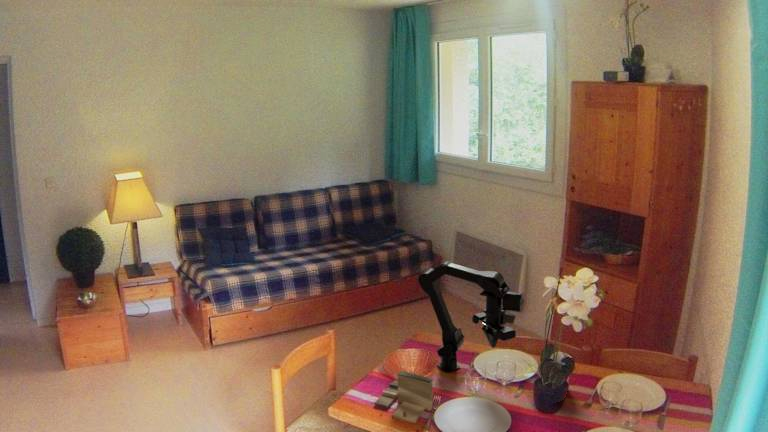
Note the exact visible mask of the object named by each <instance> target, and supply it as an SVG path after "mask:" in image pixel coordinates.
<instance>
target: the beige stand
mask: <svg viewBox="0 0 768 432" xmlns="http://www.w3.org/2000/svg"><path fill="white" fill-rule="evenodd" d="M397 381H398V398H397V403H398V404H400V405H399V407H398V408H396V410H395V411H394V412H393V413H392V418H393V419H397V420H402V421H406V422H409V423H412V424H416V422H417V421H418V419H420V417H421V416H422V414H423V413H424V412H425V410H426V411H428V412H431V411H432V410H433V407H434V405H433V404H434V401H433V400H434V399H433V397H434V394H433V392H434V388H433V385H434V384H433V383H434V378H432V377H429V376H423V375H418V374H415V373H410V372H406V371H401V370H399V372H398V373H397Z"/></svg>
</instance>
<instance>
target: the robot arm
mask: <svg viewBox="0 0 768 432" xmlns="http://www.w3.org/2000/svg"><path fill="white" fill-rule="evenodd" d="M446 275H447V276H450V277H453V278H456V279H460V280H463V281H467V282H470V283H473V284H475V285H477V286H478V287H480V288H481V289H482V291H481V292H480V293H479V295H480V296H483V297H485V308H484V309H482V310H483V311H482V312H478V313H474V314H473V316H472V318H471V319H472V320H471V321H472V323H474V324H475V325H478V324H479V323H480V322H482V323H481V324H482V327H481V330H482V332H483V333H484V335H485V338H486V339H487V341H488V344H489V345H490V348H492V349H493V348H495V347H496V345H497V344H498V340H501V341H502V342H503V341H507V340H511V339H515V338H516V337H517V331H516V330H515V329H513V328H512V327H510V326H505V325H506V324H507V323H508V324H511V325H513V324H514V323H515V319H516V314H514V313H512V312H515V313H523V311H524V307H525V299H524V294H523V292H514V291H510V290H511V289H510V286H509V285H508V284H507V283H506V281H505V278H504V276H503V273H501V272H499V271H492V270H484V271H482V270H477V269H474V268H470V267H467V266H463V265H461V264H456V263H453V262H451V261H449V260H446V261H443V262H442V263H441V264H439V265H436V266H435V267H433V268H432V267H429V268H427V269H426V270H424V271H423V272H422V273H420V275H418V278H417V282H418V284H419V286H420V289H422V291H423V292H424V293H425V294H426V295H427V296H428V298H429V301H430V304H431V305H432V308H433V311H434V314H435V317H436V318H437V321H438V325H439V326H440V329H441V343H442V345H441V346H440V347H439V348H438V349H437V351H436V352H437V354H438V357H440V363H438V364H439V365H438V366H437V367H438V368H440V369H441V370H442V371H444V372H445V373H449V372H453V371H455V370H459V369H460V368H461V366H460V365H458V356H457V352H458V350H460V348H461V347H462V346H463V345H464V342H465V339H464V338H465V335H464V333H463V331H462V328H461V327H458V328H457V327H456V326H455V324H454V322H453V321H452V318H451V315H450V313H449V312H450V311H449V310H448V308H447V305H446V304H447V303H446V302H445V299H444V297H443V294H442V292H441V279H440V278H441V277H443V276H446Z"/></svg>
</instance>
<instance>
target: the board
mask: <svg viewBox="0 0 768 432" xmlns="http://www.w3.org/2000/svg"><path fill="white" fill-rule="evenodd" d="M397 400H398V380H394V381H392V382H389V384H388V387H387V388H386V389H384V390H382V393H381V395H380V396H379V397H378V399H376V401H375V402H374V407H377V408H382V409H384V410H389V409H390V408H391V407H392V405H393V404H394V403H395V402H396V401H397Z"/></svg>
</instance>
